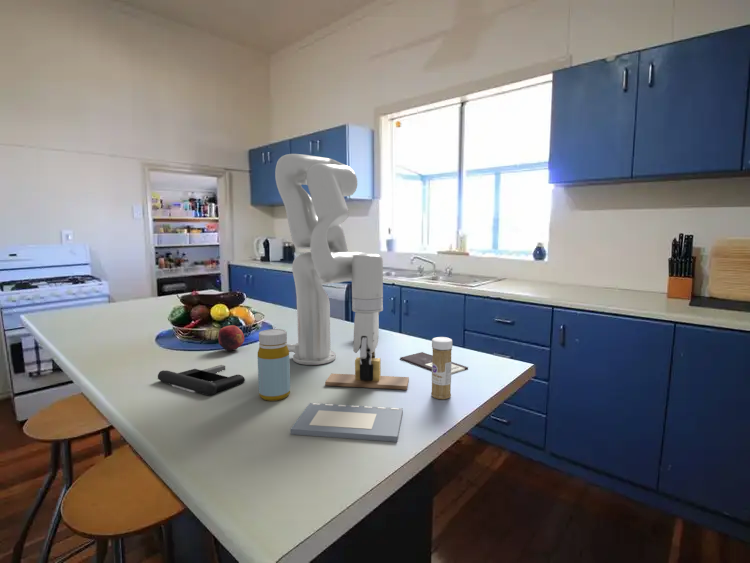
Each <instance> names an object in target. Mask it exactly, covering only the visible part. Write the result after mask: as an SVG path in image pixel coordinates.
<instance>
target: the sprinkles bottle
mask: <svg viewBox="0 0 750 563" xmlns="http://www.w3.org/2000/svg"><path fill="white" fill-rule="evenodd" d="M431 347H432V348H431V349H432V357H433V358H432V359H433V360H432V371H431V393H430V395H431V396H432V398H434V399H436V400H447V399H449V398H451V397H452V393H451V389H452V388H451V385H452V374H451V362H452V350H453V349H452V348H453V339H452V338H449V337H446V336H437V337H433V338H432V339H431Z"/></svg>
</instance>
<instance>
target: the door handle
mask: <svg viewBox="0 0 750 563" xmlns="http://www.w3.org/2000/svg"><path fill="white" fill-rule="evenodd" d="M222 370H224V371H226V365H224V364H219V365H216V366H212V367H208V368H205V369H197V368H192V369H189V370H185V371H180V372H174V371H171V370H165V369H164V370H160V371H159V372H158V374H157V380H159V381H160V382H161V383H163V384H167V385H171V386H172V387H173V388H177V389H180V390H184V391H187V392H190V393H193V394H194V393H197V394H201V395H205V396H214V395H216V393H218V392H222V391H225V390H228V389H230V388H233V387H236V386H239V385H241V384H244V383H245V382H246V381H245V377H244V376H243V375H241V374H234V375H231V376H225V375H222V374H218V373H220V371H221V372H223V371H222ZM217 372H218V373H217ZM202 379H203V380H202ZM209 381H210V382H209Z"/></svg>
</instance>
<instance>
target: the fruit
mask: <svg viewBox="0 0 750 563" xmlns="http://www.w3.org/2000/svg"><path fill="white" fill-rule="evenodd" d="M244 342H245V335H244V333H243V330H242V329H240V328H239V327H238V326H236V325H232V324H231V325H226V326H223V327H222V328H220V329H219V330H218V344H219V346H220V347H222V348H223V349H224V350H226V351H227V352H231V351H232V350H233V351H235V350H236V349H238V348H240V347H241V346H242V345H243V344H244Z"/></svg>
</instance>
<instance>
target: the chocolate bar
mask: <svg viewBox="0 0 750 563" xmlns="http://www.w3.org/2000/svg"><path fill="white" fill-rule="evenodd" d="M432 356H433V354H429V353H425V352H424V351H421V352H417V353H414V354H409V355H405V356H401V357H399V360H401V361H403V362H406V363H409V364H410V365H411V364H412V365H415V366H418V367H419V366H420V368H422V369H426V370H428V371H431V372H432V360H433V359H432V358H433V357H432ZM468 369H469V366H465V365H463V364H460V363H457V362H453V361H451V375H453V374H457V373H459V372H462V371H467V370H468Z"/></svg>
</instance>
